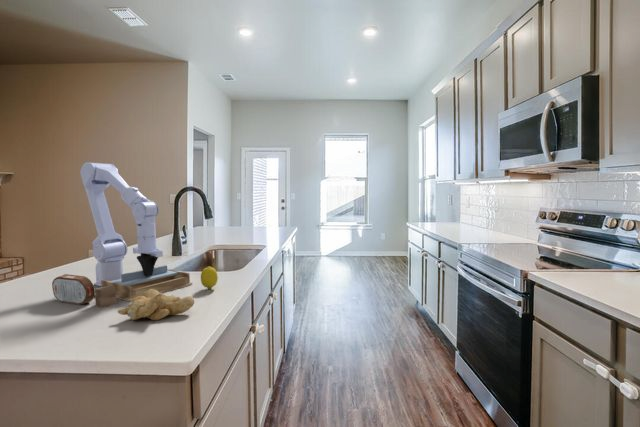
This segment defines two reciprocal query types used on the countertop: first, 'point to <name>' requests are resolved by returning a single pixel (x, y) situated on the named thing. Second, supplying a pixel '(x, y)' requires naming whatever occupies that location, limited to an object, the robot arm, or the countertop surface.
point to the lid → (140, 277)
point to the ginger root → (156, 305)
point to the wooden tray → (150, 285)
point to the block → (105, 296)
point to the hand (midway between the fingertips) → (148, 275)
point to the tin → (73, 289)
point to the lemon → (209, 277)
